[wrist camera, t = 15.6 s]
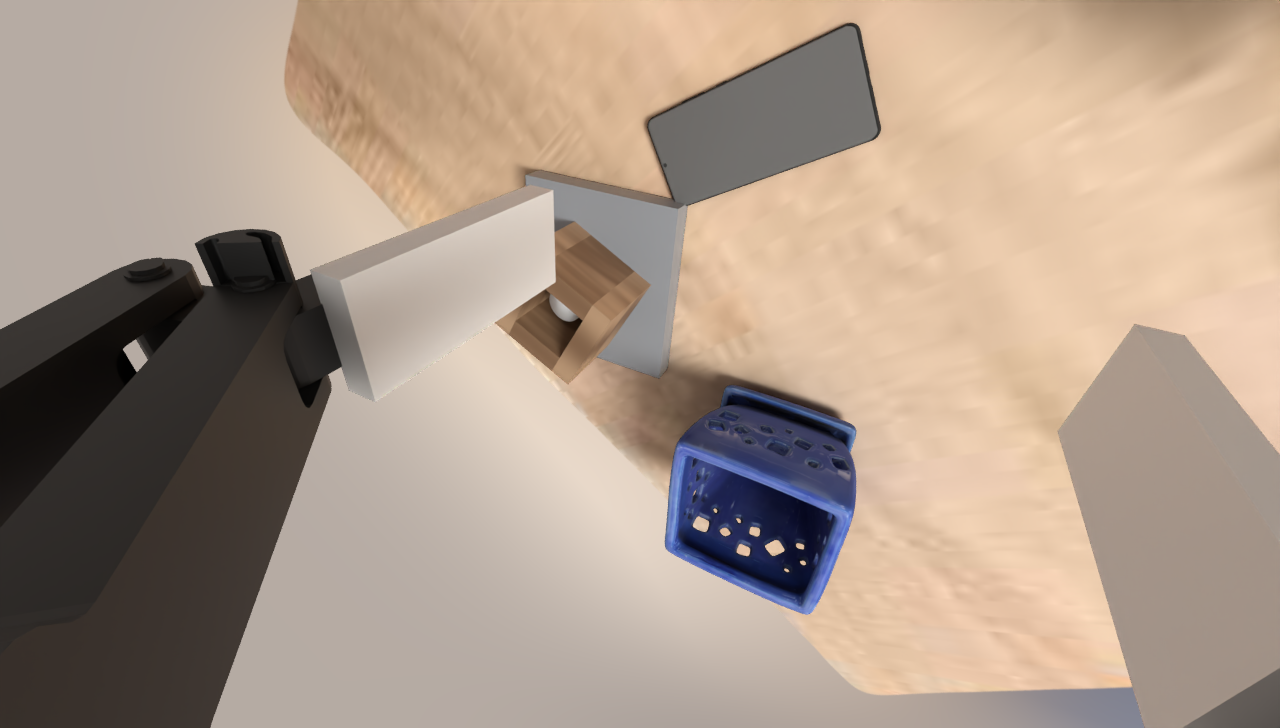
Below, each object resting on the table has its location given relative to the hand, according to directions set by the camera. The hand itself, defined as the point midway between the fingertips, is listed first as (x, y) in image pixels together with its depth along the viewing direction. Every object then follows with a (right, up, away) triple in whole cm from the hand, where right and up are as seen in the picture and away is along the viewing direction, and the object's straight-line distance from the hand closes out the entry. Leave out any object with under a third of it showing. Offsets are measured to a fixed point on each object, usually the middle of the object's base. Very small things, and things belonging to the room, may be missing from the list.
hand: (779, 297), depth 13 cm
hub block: (-9, +4, +35) cm, 36 cm away
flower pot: (+10, -9, +36) cm, 38 cm away
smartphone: (+5, +15, +24) cm, 28 cm away
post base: (-6, +7, +35) cm, 36 cm away
